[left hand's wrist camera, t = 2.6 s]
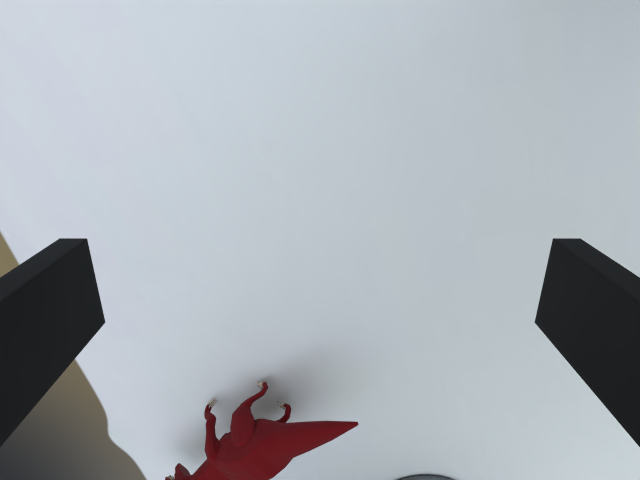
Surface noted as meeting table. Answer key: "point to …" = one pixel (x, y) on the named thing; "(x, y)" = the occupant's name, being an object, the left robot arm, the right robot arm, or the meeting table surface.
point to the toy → (258, 444)
